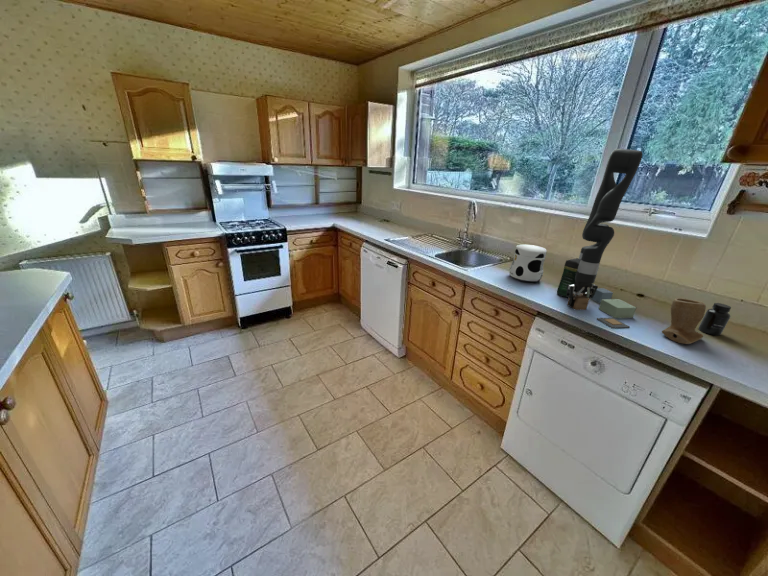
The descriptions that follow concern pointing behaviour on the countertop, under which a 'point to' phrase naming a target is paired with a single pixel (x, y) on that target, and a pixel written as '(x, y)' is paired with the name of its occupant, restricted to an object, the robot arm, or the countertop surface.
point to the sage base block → (617, 308)
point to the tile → (613, 322)
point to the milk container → (528, 263)
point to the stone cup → (685, 320)
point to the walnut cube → (580, 302)
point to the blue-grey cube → (602, 295)
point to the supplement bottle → (715, 319)
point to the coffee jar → (568, 276)
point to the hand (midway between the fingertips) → (576, 306)
